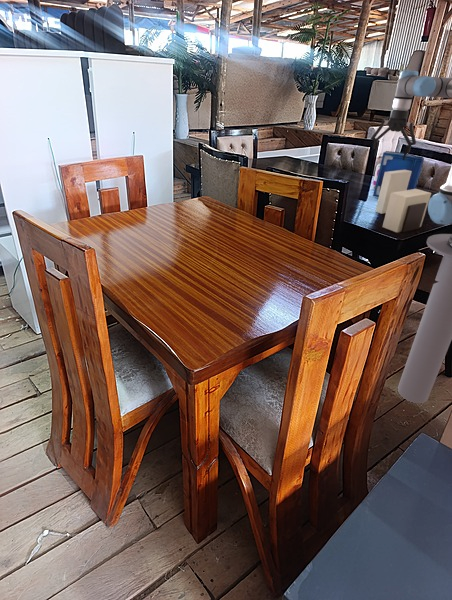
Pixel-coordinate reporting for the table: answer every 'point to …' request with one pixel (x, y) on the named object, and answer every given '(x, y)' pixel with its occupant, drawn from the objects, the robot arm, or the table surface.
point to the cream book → (392, 187)
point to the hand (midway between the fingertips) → (388, 158)
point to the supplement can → (376, 176)
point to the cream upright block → (406, 210)
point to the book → (399, 168)
